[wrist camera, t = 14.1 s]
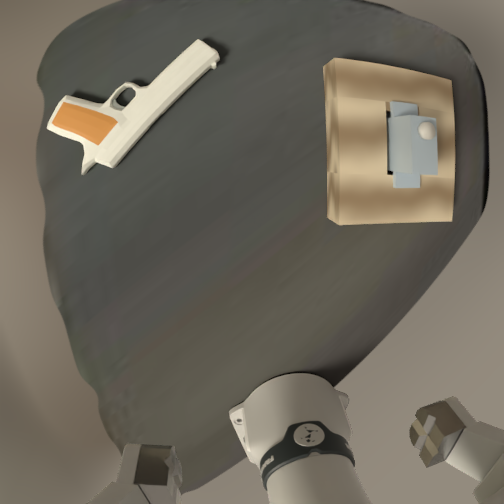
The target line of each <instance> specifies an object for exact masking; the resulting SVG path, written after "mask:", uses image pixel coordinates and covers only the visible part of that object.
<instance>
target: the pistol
mask: <svg viewBox="0 0 504 504" xmlns="http://www.w3.org/2000/svg"><path fill="white" fill-rule="evenodd" d="M218 55H219V53H218V52H217V51H216V50H215V49H214V48H211V47H209V46H208V45H207V44H206V43H204V42H203V41H200V40H199V39H197V40H196V41H195V42H194V43H193V44H192V45H191V46H189V47H188V48H187V49H186V50H185V51H184V52H183V53H182V54H181V55H179V56H178V57H177V58H176V59H175V60H174V61H173V62H172V63H171V64H170V65H169V66H168V67H167V68H166V69H165V70H164V71H163V72H162V73H161V74H160V75H159V76H158V77H157V78H156V79H155V80H154V81H153V82H152V83H151V84H150V85H149V86H143V87H140V86H138V85H136V84H134V83H130V82H126V83H124V84H123V85H122V86H120V87H119V88H118V89H116V91H115V92H114V93H113V94H112V95H111V97H110V98H109V99H108V100H107V101H106V102H105V103H104V104H102V103H95V102H91V101H88V100H84V99H80V98H76V97H72V96H68V95H66V96H65V97H64V98H63V99H62V100H61V101H60V102H59V104H58V105H57V107H56V109H55V111H54V113H53V115H52V116H51V118H50V120H49V123H48V126H47V129H49V130H51V131H53V132H55V133H57V134H59V135H61V136H64V137H67V138H70V139H73V140H76V141H79V142H81V143H82V144H83V146H84V152H85V155H84V159H83V164H82V175H84V174H86V173H87V172H88V170H89V169H90V168H91V167H92V166H93V165H94V164H96V163H97V162H98V163H100V164H103V165H106V166H108V167H111V168H115V167H116V166H117V165H118V164H119V162H120V161H121V160H122V159H123V158H124V156H125V155H126V154H127V153H128V152H129V151H130V149H131V148H132V147H133V146H134V145H135V144H136V143H137V141H138V140H139V139H140V138H141V137H142V136H143V135H144V134H145V133H146V131H147V130H148V129H149V128H150V127H151V125H152V124H153V123H154V122H155V121H156V120H157V119H158V118H159V117H160V116H161V115H162V114H163V113H164V112H165V111H166V110H167V109H168V108H169V107H170V106H171V105H172V104H173V103H174V102H175V101H176V100H177V99H178V98H179V97H180V96H181V95H182V94H183V93H184V92H185V91H186V90H187V89H188V88H190V87H191V86H192V85H193V84H194V83H195V82H196V81H197V80H198V79H199V78H200V77H201V76H202V75H203V74H205V73H206V72H207V71H208V70H209V69H210V68H212V69H215V68H216V63H217V62H218V61H219V60H220V57H219V56H218ZM129 87H132V88H133V89H134V90H135V91H136V96H135V97H134V99H133V100H132V101H131V102H130V103H129V104H128V105H127V106H126V107H124V106H120V105H119V104H118V103H117V101H116V98H117V97H118V96H119V94H120V93H121V92H122V91H124V90H125V89H126V88H129Z"/></svg>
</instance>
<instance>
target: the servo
mask: <svg viewBox="0 0 504 504" xmlns="http://www.w3.org/2000/svg"><path fill="white" fill-rule="evenodd" d="M386 123H387V171H393V188H420V175H438V151H437V126H436V118H431V117H424V116H418V107H417V104H410V103H403V102H394V101H391V102H390V112H387V113H386Z"/></svg>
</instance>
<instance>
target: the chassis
mask: <svg viewBox="0 0 504 504" xmlns="http://www.w3.org/2000/svg"><path fill="white" fill-rule="evenodd" d="M323 73H324V88H325V107H326V132H327V218H329V219H330V220H332V221H333V222H335V223H337V224H338V225H352V224H377V223H406V222H440V221H452V214H453V201H454V182H455V123H454V105H453V92H452V82H451V80H448V79H445V78H441V77H437V76H433V75H429V74H425V73H421V72H417V71H413V70H408V69H403V68H398V67H393V66H388V65H382V64H377V63H370V62H364V61H357V60H350V59H341V58H334V59H332V60H331V61H330V62H328V63H327V64H326V65H325V66H323ZM391 101H394V102H403V103H410V104H417V107H418V116H424V117H431V118H436V126H437V151H438V175H420V188H393V173H387V123H386V113H387V112H390V102H391Z"/></svg>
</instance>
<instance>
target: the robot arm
mask: <svg viewBox="0 0 504 504" xmlns="http://www.w3.org/2000/svg"><path fill="white" fill-rule="evenodd" d="M348 403H349V399H348V395H347V394H345V393H343V392H340V391H337V390H335V389H334V388H333V387H332V385H331V384H330V383H329V382H328V381H326V380H325V379H323V378H322V377H319V376H316V375H313V374H306V373H295V374H287V375H283V376H279V377H276V378H274V379H271V380H269V381H267V382H265V383H263V384H262V385H260V386H259V387H258V388H256V389H255V390H254V391H253V392H252V393H251V394H250V396H249V397H248V398H247V399H246V400H245V401H244V402H243V403H241V404H239V405H237V406H235V407H233V408H232V409H231V410H230V411H229V415H230V419H231V421H232V423H233V426H234V428H235V430H236V432H237V434H238V437H239V439H240V441H241V443H242V445H243V447H244V450H245V452H246V454H247V456H248V458H249V460H250V462H252V463H255V464H257V466H258V468H259V470H260V476H261V480H262V483H263V485H264V488H265V489H266V490H267V491H268V496H269V503H270V504H372V503H371V501H370V500H369V498H368V496H367V494H366V493H365V491H364V489H363V487H362V484H361V482H360V480H359V478H358V476H357V474H356V471H355V469H354V466H355V460H354V458H353V452H352V450H351V448H350V446H349V445H348V441H349V439H350V436H351V435H352V428H351V426H350V423H349V420H348V417H347V414H346V412H345V410H346V408H347V405H348ZM415 416H416V418H417V419H416V420H415V421H414V422H413V423H412V425H411V428H410V439H411V442H412V444H413V446H414V447H416V448H418V449H420V454H419V456H420V458H421V459H422V461H423V463H424V464H425V466H426V467H430V466H432V465H435V464H437V463H440V462H442V461H445V460H446V462H447V463H449V464H451V465H452V466H454V467H455V468H457V469H459V470H461V471H462V472H464V473H466V474H468V475H469V476H471V477H473V478H475V479H476V480H478V481H480V483H479V485H478V486H477V487H476V488H475V489H474V492H473V494H474V496H475V498H476V499H477V501H478V504H504V430H502V429H499V428H497V427H494V426H491V425H489V424H486V423H483V422H476V421H475V419H474V418H473V417H472V416H471V415H470V413H469V412H468V411H467V410H466V408H465V407H464V406H463V405H462V404H461V403H460V401H459V400H458V399H457V398H456V397H450V398H447V399H445V400H442V401H439V402H436V403H433V404H430V405H427V406H425V407H422V408H420V409H419V410H417V412H416V415H415ZM181 485H182V469H181V464H180V461H179V459H177V458H176V450H175V448H174V446H163V445H147V444H133V443H127V444H126V446H125V447H124V451H123V456H122V460H121V464H120V468H119V473H118V477H117V481H116V482H111V483H110V484H109V485H108V486H107V487H106V488H104V489H103V490H102V491H101V492H100V493H99V494H97V495H96V496H95V497H94V498H93V499H91V500H90V501H89V502H88V503H87V504H181V494H180V491H179V489H178V488H179V487H180V486H181Z"/></svg>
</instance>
